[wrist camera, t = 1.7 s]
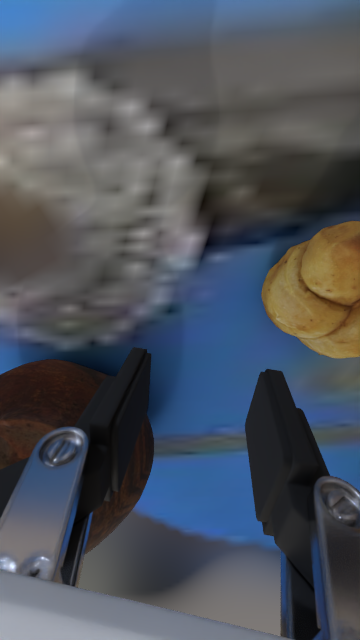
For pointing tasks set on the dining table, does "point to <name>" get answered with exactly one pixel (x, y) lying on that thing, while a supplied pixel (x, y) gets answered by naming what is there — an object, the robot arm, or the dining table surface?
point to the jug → (64, 411)
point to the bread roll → (319, 291)
